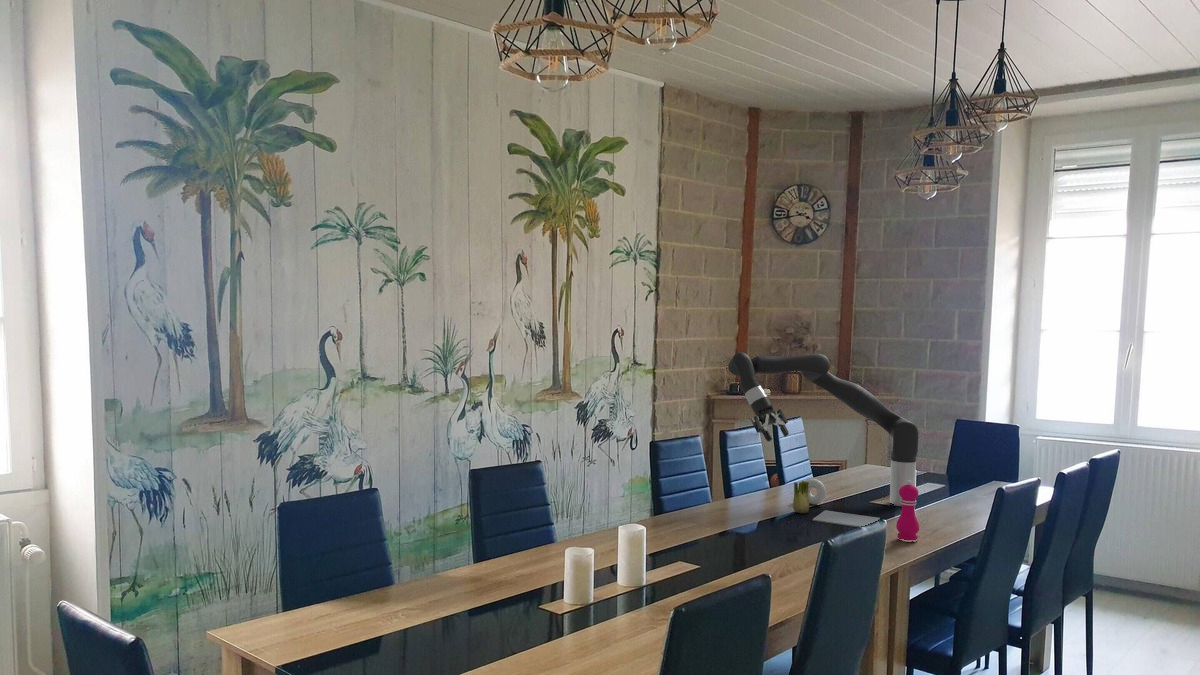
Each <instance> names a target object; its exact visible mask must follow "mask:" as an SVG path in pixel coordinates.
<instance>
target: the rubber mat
mask: <svg viewBox="0 0 1200 675" xmlns="http://www.w3.org/2000/svg"><path fill="white" fill-rule="evenodd" d="M880 518H881V517H877V516H870V515H862V514H861V515H860V514H854V513H847V512H846V513H845V512H839V511H833V510H827V509H826V510H823V511H822V512H821V513H819V514H818V515H816V516H815V517H813V518H812V521H813V522H819V523H826V524H832V525H837V526H838V525H840V526H844V527H845V526H846V527H853V528H859V527H861V526H865V525H868V524H870V523H873V522H875V521H877V522H879V521H880V520H881V519H880ZM878 520H879V521H878Z"/></svg>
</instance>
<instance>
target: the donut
mask: <svg viewBox="0 0 1200 675" xmlns="http://www.w3.org/2000/svg"><path fill="white" fill-rule="evenodd" d="M806 481H807V482H809V485H808V497H809V505H810V504H811V505H814V506H815V505H821V504H822V503H823V502H824V501H825V499H826V498H827V488H826V486H825V485H824V483H823V482H822V481H820V480H819V479H817V478H810V479H807V480H806ZM813 488H814V489H816V492H817V494H815V495H814V494H812V492H811V490H812V489H813Z"/></svg>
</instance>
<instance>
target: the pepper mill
mask: <svg viewBox="0 0 1200 675" xmlns="http://www.w3.org/2000/svg"><path fill="white" fill-rule="evenodd" d="M906 484H907V485H903V486H902V487H901V488H900V490H899V495H900V496H901V498H902V499H901V502H900V503H901V504H902V506H901V511H900V512H901V514H900V515H899V516H898V519H897V520H896V523H895V524H896V525H895V527H896V530H897V531H898V532H897V534H896V535H897V536H896V537H898V538H899V539H904V540H916V539H917V538H918V534H917V533H919V531H920V523H919V521H918V519H917V517H916V510H915V509H916V505H917V500H916V499H918V497H919V490H918V488H917V487H916V485H915V486H913V485H911V484H912V482H911V481H910V480H908V481H907V482H906Z"/></svg>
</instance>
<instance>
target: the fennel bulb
mask: <svg viewBox="0 0 1200 675" xmlns="http://www.w3.org/2000/svg"><path fill="white" fill-rule="evenodd" d="M793 485H794V486H793V487H794V490H793V492H794V493H793V500H792V502H793V510H794V512H795V513H798V514H807V513H809V509H810V503H809V497H808V485H809V482H807V480H801V481H799V482H797V481H794V482H793Z"/></svg>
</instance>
